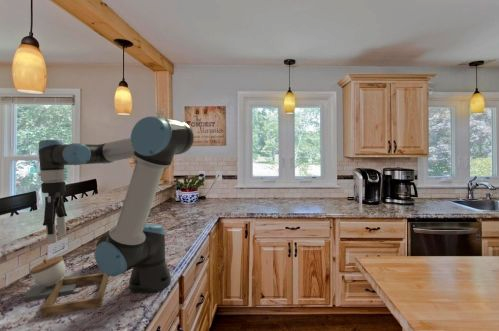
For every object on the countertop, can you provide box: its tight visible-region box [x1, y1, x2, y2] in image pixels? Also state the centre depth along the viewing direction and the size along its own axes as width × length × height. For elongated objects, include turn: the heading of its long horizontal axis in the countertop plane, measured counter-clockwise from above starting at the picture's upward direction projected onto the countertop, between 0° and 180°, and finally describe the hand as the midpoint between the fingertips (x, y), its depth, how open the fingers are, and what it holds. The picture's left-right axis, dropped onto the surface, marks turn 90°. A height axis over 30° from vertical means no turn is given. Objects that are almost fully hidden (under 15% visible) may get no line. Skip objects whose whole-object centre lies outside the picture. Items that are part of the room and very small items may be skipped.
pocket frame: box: [40, 272, 109, 318], centre depth 103 cm, size 16×22×3 cm
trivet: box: [22, 273, 82, 302], centre depth 110 cm, size 15×15×1 cm
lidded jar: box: [29, 255, 67, 287], centre depth 110 cm, size 11×11×9 cm
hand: (57, 238), depth 109 cm, fingers open, 13 cm apart
